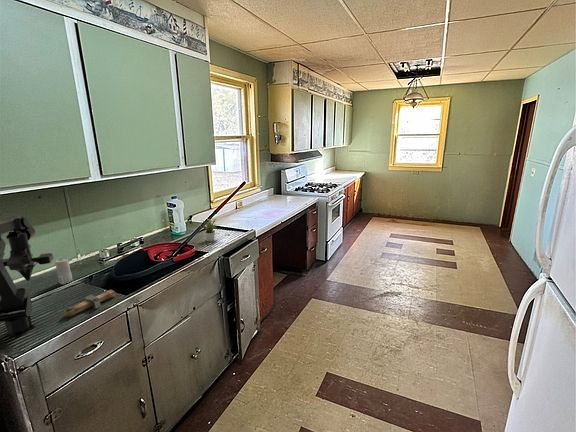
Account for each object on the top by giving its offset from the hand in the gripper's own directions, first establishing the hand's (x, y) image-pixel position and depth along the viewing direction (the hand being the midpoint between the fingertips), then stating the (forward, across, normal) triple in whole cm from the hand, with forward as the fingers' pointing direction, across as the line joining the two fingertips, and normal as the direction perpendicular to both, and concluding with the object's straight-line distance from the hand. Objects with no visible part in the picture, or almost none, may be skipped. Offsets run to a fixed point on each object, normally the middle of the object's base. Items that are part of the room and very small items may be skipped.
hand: (28, 280), depth 125 cm
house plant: (+13, +84, +56) cm, 102 cm away
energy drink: (+13, +6, +22) cm, 27 cm away
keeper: (+13, +23, -9) cm, 28 cm away
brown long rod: (+12, +22, -9) cm, 26 cm away
